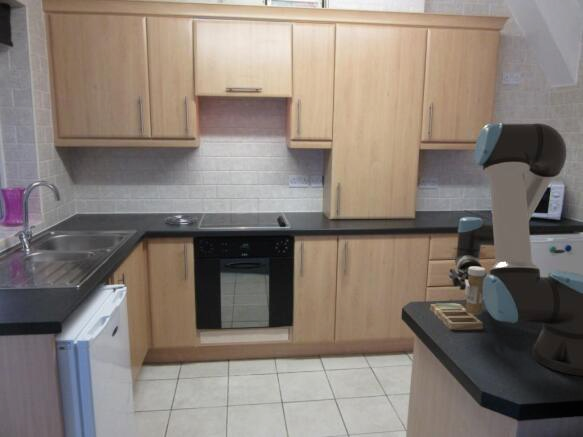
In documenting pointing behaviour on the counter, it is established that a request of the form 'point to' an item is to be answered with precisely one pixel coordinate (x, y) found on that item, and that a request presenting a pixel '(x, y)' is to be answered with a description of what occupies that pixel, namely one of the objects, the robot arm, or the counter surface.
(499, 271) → the robot arm
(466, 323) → the slotted wooden board
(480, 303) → the sprinkles bottle
